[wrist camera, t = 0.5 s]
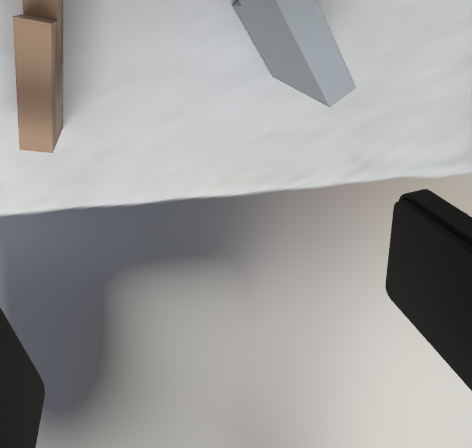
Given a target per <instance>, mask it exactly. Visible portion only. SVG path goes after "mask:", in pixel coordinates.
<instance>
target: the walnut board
mask: <svg viewBox="0 0 472 448" xmlns="http://www.w3.org/2000/svg"><path fill="white" fill-rule="evenodd" d="M13 25H14V45H15V65H16V85H17V106H18V126H19V146H20V150H28V151H38V152H48V153H53V151H54V148H55V146H56V143H57V141H58V138H59V136H60V133H61V131H62V129H63V0H23V14H22V15H17V16H13Z"/></svg>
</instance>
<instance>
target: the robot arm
mask: <svg viewBox="0 0 472 448" xmlns="http://www.w3.org/2000/svg"><path fill="white" fill-rule="evenodd" d="M386 291H387V293H388V296H389V297H390V299H391V300H392V301H393V302H394V303H395V304H396V306H397V307H398V308H399V309H400V310H401V311H402V312H403V314H404V315H405V316H406V317H407V318H408V319H409V320H410V321H411V323H412V324H413V325H414V326H415V327H416V328H417V329H418V330H419V332H420V333H421V334H422V335H423V336H424V337H425V338H426V340H427V341H428V342H429V343H430V344H431V345H432V346H433V347H434V349H435V350H436V351H437V352H438V353H439V354H440V355H441V357H442V358H443V359H444V360H445V361H446V362H447V363H448V364H449V366H450V367H451V368H452V369H453V370H454V371H455V372H456V373H457V374H458V376H459V377H460V378H461V379H462V380H463V381H464V383H465V384H466V385H467V386H468V387H469V388H470V389H471V390H472V217H470V216H468V215H467V214H466V213H464V212H462V211H461V210H459V209H458V208H456V207H454V206H453V205H451V204H450V203H448V202H447V201H445V200H443V199H442V198H441V197H439V196H437V195H436V194H434V193H433V192H431V191H429V190H427V189H423V190H419V191H415V192H410V193H406V194H403V195H402V196H401V197H400V199H399V201H398V202H396V203H395V205H394V210H393V220H392V229H391V239H390V248H389V258H388V267H387V276H386ZM44 396H45V390H44V384H43V381H42V379H41V377H40V375H39V374H38V372H37V370H36V368H35V367H34V365H33V363H32V361H31V360H30V358H29V356H28V355H27V353H26V351H25V350H24V348H23V346H22V344H21V342H20V341H19V339H18V337H17V336H16V334H15V332H14V330H13V329H12V327H11V325H10V324H9V322H8V321H7V318H6V317H5V315H4V313H3V311H2V310H1V308H0V448H35V446H36V441H37V435H38V430H39V424H40V419H41V413H42V407H43V402H44Z"/></svg>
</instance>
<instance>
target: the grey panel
mask: <svg viewBox="0 0 472 448" xmlns="http://www.w3.org/2000/svg"><path fill="white" fill-rule="evenodd" d="M232 6H233V8H234V9H235V11H236V13H237V15H238V17H239V18H240V20H241V22H242V24H243V25H244V27H245V29H246V31H247V32H248V34H249V36H250V38H251V39H252V41H253V43H254V45H255V46H256V48H257V50H258V52H259V53H260V55H261V57H262V59H263V60H264V62H265V64H266V66H267V67H268V69H269V71H270V73H271V74H272V76H273V77H274V78H276V79H278V80H280V81H282V82H284V83H285V84H287V85H289V86H291V87H293V88H295V89H297V90H298V91H300V92H302V93H304V94H306V95H308V96H310V97H311V98H313V99H315V100H317V101H319V102H321V103H323V104H324V105H326V106H328V107H331V106H332V105H333V104H335V103H336V102H338V101H339V100H340V99H342V98H343V97H344V96H346V95H347V94H348V93H350V92H351V91H353V90H354V89H355V88H356V86H355V84H354V82H353V79H352V77H351V75H350V73H349V70H348V68H347V66H346V64H345V62H344V59H343V57H342V55H341V53H340V50H339V48H338V46H337V44H336V41H335V39H334V37H333V35H332V32H331V30H330V28H329V26H328V23H327V21H326V19H325V17H324V15H323V12H322V10H321V8H320V6H319V3H318V1H317V0H238V1H237V2H236V3H234V4H233V5H232Z"/></svg>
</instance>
